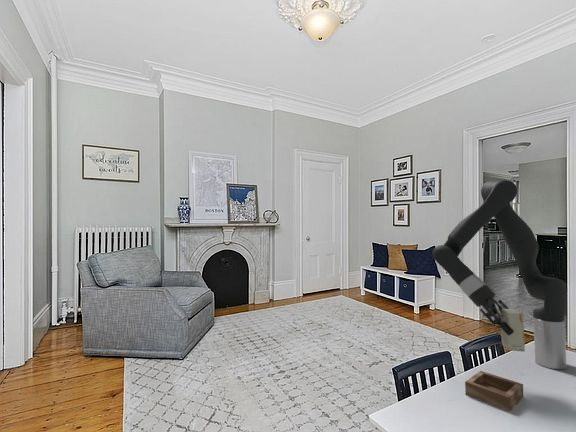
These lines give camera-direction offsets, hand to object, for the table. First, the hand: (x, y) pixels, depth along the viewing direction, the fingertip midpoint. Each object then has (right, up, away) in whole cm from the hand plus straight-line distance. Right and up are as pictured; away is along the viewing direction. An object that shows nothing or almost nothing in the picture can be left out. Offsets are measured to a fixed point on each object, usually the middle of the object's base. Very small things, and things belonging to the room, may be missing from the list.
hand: (515, 331), depth 103 cm
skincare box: (-1, -6, +1) cm, 6 cm away
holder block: (-10, -19, -5) cm, 22 cm away
